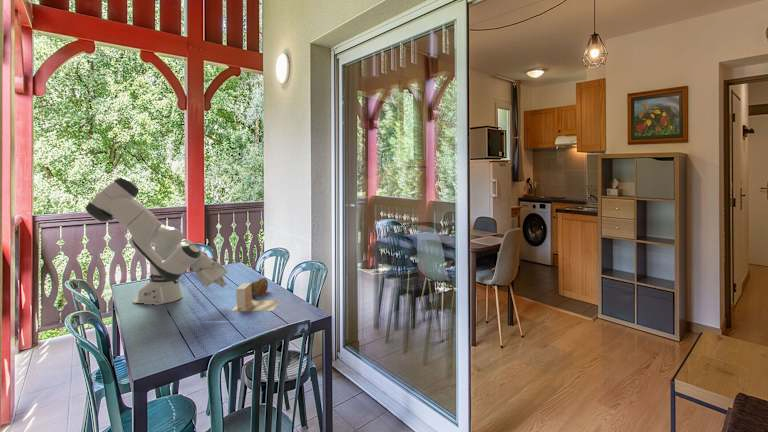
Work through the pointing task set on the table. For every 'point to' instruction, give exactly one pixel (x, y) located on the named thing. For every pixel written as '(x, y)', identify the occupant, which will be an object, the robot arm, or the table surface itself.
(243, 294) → the tile
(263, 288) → the tin
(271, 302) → the board
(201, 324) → the table surface
